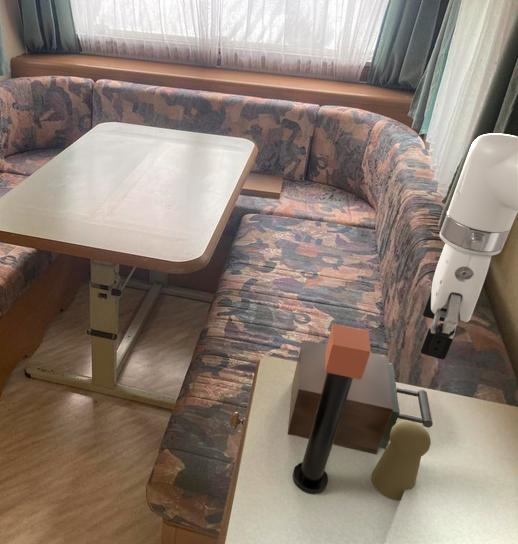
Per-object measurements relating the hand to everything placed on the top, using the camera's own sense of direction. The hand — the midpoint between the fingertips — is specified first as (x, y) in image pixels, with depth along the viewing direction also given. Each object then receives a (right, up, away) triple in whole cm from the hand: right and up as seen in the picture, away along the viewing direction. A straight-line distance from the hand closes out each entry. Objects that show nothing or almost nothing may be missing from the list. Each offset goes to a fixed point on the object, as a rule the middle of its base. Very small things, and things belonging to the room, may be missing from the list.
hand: (432, 335), depth 84 cm
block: (-17, -2, -11) cm, 20 cm away
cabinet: (-11, -15, +12) cm, 22 cm away
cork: (-6, -22, +1) cm, 23 cm away
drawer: (-7, -15, +10) cm, 19 cm away
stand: (-18, -21, +1) cm, 28 cm away
